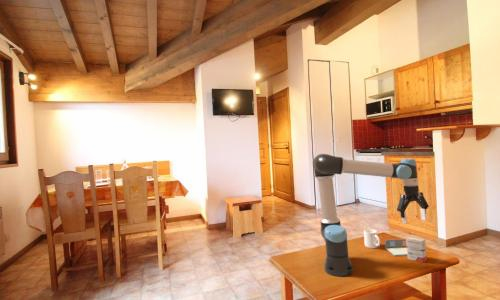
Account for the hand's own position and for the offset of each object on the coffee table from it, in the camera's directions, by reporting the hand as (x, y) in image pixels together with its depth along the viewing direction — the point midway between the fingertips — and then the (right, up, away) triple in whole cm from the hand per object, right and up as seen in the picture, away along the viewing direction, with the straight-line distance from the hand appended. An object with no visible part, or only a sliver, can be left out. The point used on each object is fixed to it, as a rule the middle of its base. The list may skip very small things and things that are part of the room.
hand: (414, 221), depth 153 cm
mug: (-14, -23, +21) cm, 34 cm away
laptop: (-1, -22, +10) cm, 24 cm away
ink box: (+1, -22, -2) cm, 22 cm away
